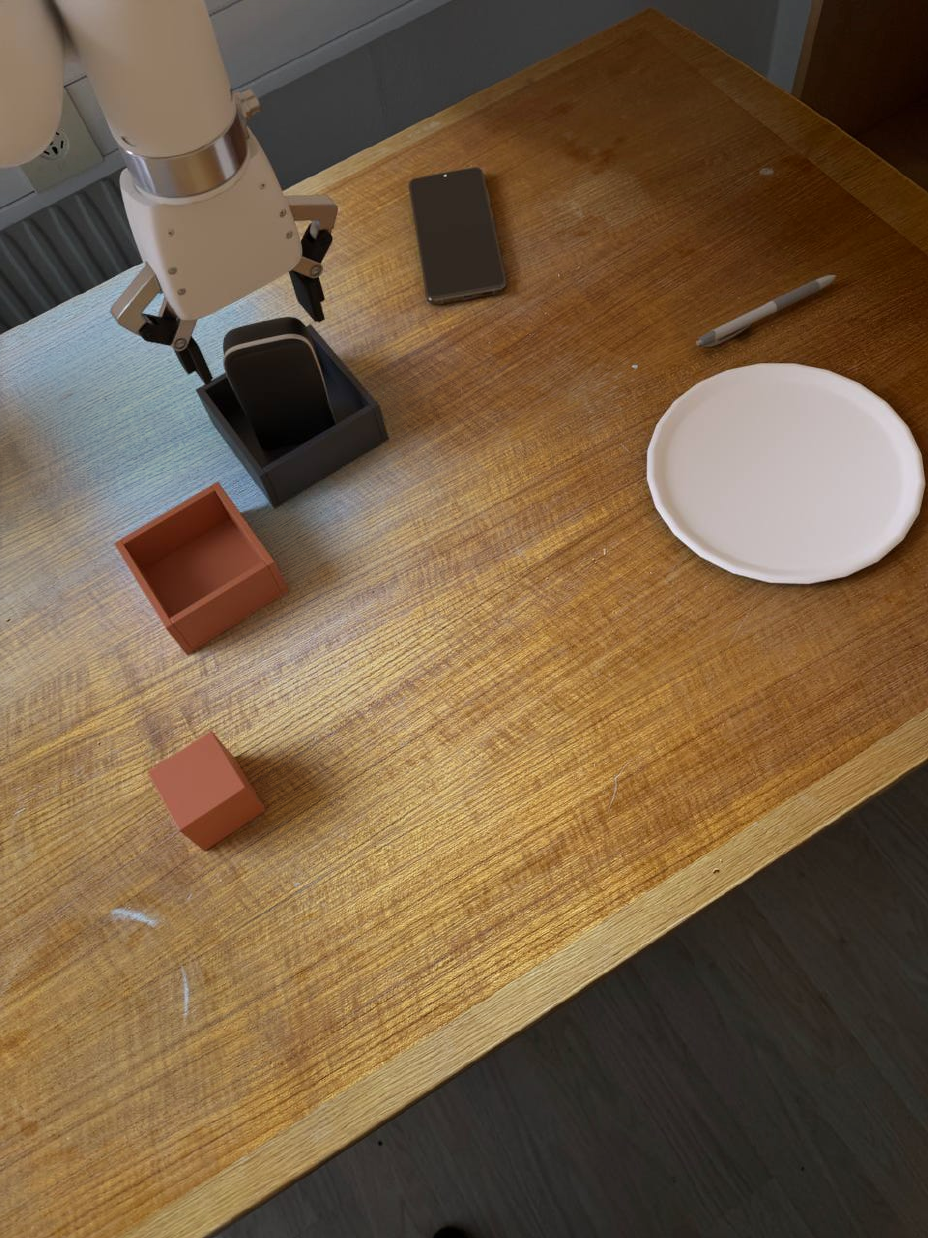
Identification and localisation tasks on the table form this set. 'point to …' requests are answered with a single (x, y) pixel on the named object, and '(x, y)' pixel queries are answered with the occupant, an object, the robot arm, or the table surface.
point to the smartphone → (456, 236)
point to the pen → (763, 312)
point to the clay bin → (202, 567)
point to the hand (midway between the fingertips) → (257, 341)
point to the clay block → (206, 791)
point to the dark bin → (311, 460)
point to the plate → (785, 473)
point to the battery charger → (278, 381)
